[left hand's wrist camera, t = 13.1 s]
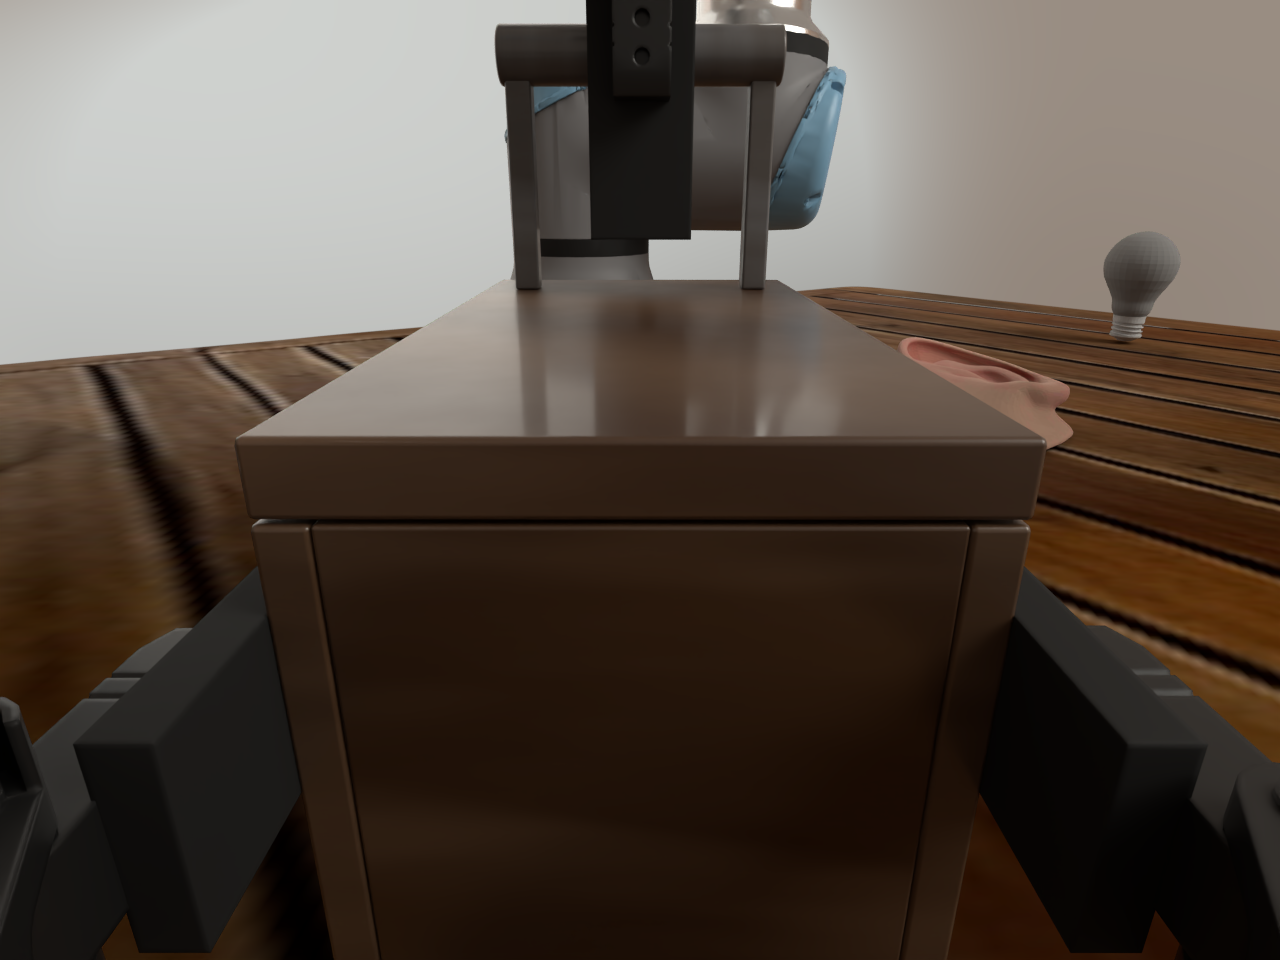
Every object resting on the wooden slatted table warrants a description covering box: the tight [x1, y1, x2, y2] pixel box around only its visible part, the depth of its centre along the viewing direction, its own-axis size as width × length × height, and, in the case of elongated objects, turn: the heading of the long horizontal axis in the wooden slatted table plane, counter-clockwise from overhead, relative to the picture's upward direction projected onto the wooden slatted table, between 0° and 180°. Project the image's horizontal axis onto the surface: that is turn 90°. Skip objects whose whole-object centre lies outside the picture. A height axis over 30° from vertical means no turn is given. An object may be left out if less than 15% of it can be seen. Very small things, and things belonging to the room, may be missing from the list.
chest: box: [251, 519, 1031, 960], centre depth 19 cm, size 17×9×10 cm, turn 0°
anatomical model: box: [897, 337, 1073, 450], centre depth 47 cm, size 13×4×12 cm
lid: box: [235, 24, 1047, 520], centre depth 16 cm, size 18×9×8 cm, turn 0°
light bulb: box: [1104, 232, 1180, 341], centre depth 72 cm, size 6×6×10 cm
